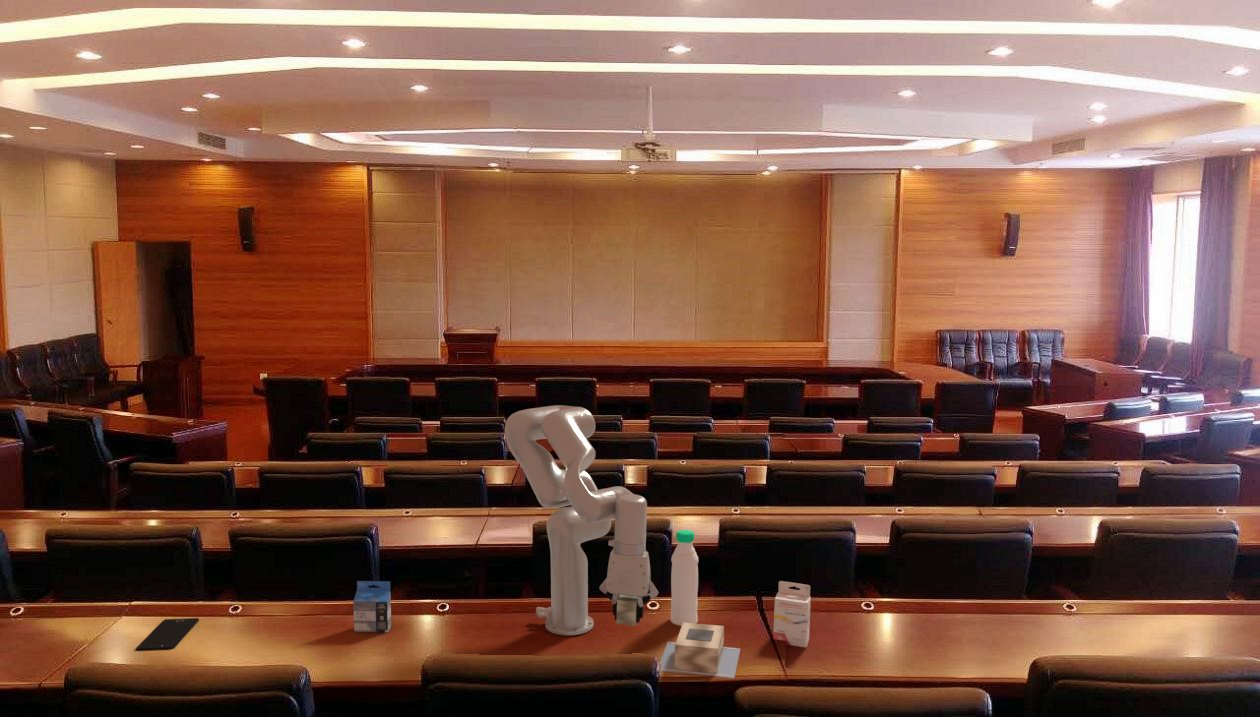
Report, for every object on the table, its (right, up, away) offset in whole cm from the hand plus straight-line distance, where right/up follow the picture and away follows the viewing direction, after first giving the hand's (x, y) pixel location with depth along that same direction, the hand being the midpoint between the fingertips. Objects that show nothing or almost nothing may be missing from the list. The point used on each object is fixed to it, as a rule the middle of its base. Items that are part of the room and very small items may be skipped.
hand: (627, 618), depth 224 cm
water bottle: (+15, -7, +20) cm, 26 cm away
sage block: (0, -1, 0) cm, 1 cm away
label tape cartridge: (-66, -7, +15) cm, 68 cm away
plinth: (+17, -9, -3) cm, 19 cm away
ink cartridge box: (+41, -9, +10) cm, 43 cm away
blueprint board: (+17, -10, -3) cm, 20 cm away
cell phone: (-117, -8, +12) cm, 118 cm away
